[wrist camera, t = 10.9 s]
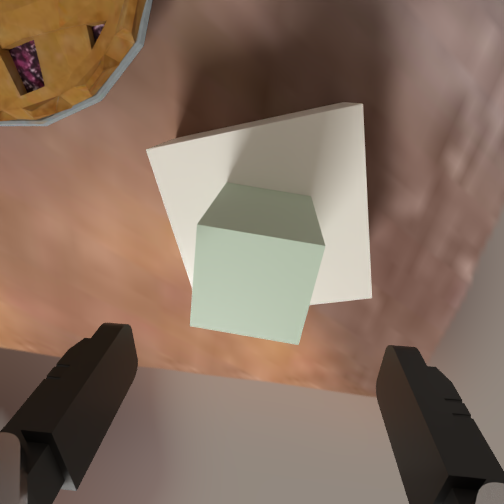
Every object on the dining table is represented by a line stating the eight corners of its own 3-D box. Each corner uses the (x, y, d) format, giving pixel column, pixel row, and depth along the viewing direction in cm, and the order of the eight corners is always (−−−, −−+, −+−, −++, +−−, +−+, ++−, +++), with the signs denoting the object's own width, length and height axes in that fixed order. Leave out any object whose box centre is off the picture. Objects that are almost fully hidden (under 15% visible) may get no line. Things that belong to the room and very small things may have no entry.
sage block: (226, 182, 18) (196, 224, 12) (311, 196, 18) (325, 245, 12) (218, 257, 21) (189, 326, 14) (293, 270, 20) (298, 345, 14)
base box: (177, 137, 23) (145, 149, 18) (342, 101, 21) (362, 103, 16) (217, 275, 28) (201, 317, 23) (353, 257, 26) (371, 298, 21)
